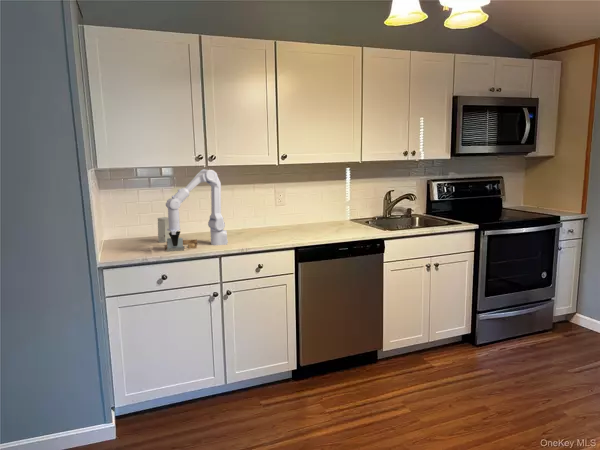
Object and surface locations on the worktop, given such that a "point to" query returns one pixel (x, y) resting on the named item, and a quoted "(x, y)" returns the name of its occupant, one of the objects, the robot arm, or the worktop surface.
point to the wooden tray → (187, 243)
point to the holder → (175, 249)
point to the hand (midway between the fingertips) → (175, 245)
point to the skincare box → (163, 229)
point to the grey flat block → (170, 244)
